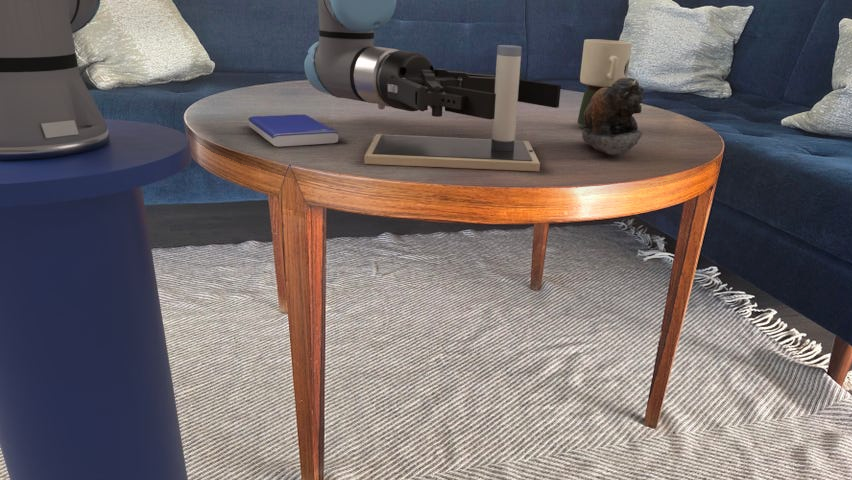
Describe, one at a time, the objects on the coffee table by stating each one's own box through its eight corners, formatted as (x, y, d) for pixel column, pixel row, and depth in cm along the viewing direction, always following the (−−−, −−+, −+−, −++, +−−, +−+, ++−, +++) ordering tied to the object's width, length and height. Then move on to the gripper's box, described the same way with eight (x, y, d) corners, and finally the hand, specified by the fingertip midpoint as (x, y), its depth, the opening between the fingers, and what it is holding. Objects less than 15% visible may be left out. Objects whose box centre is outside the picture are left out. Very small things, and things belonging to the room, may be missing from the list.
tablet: (364, 164, 73) (364, 154, 72) (376, 141, 84) (376, 133, 84) (539, 171, 74) (540, 162, 74) (528, 148, 85) (528, 140, 85)
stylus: (486, 148, 79) (492, 44, 74) (503, 145, 81) (510, 44, 76) (501, 152, 77) (508, 47, 72) (518, 150, 79) (526, 47, 74)
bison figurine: (570, 141, 91) (578, 67, 87) (618, 142, 92) (628, 69, 88) (595, 162, 80) (605, 78, 76) (649, 163, 81) (662, 80, 77)
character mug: (629, 136, 97) (643, 45, 92) (583, 134, 96) (594, 42, 91) (609, 122, 107) (620, 39, 102) (567, 121, 106) (576, 37, 101)
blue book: (338, 130, 81) (307, 113, 91) (272, 134, 77) (247, 116, 87) (338, 142, 82) (308, 124, 92) (273, 147, 78) (248, 127, 88)
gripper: (454, 100, 97) (577, 122, 85) (324, 117, 79) (458, 148, 67) (456, 47, 94) (584, 63, 82) (321, 52, 76) (461, 73, 64)
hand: (528, 101), depth 75 cm, fingers open, 13 cm apart
